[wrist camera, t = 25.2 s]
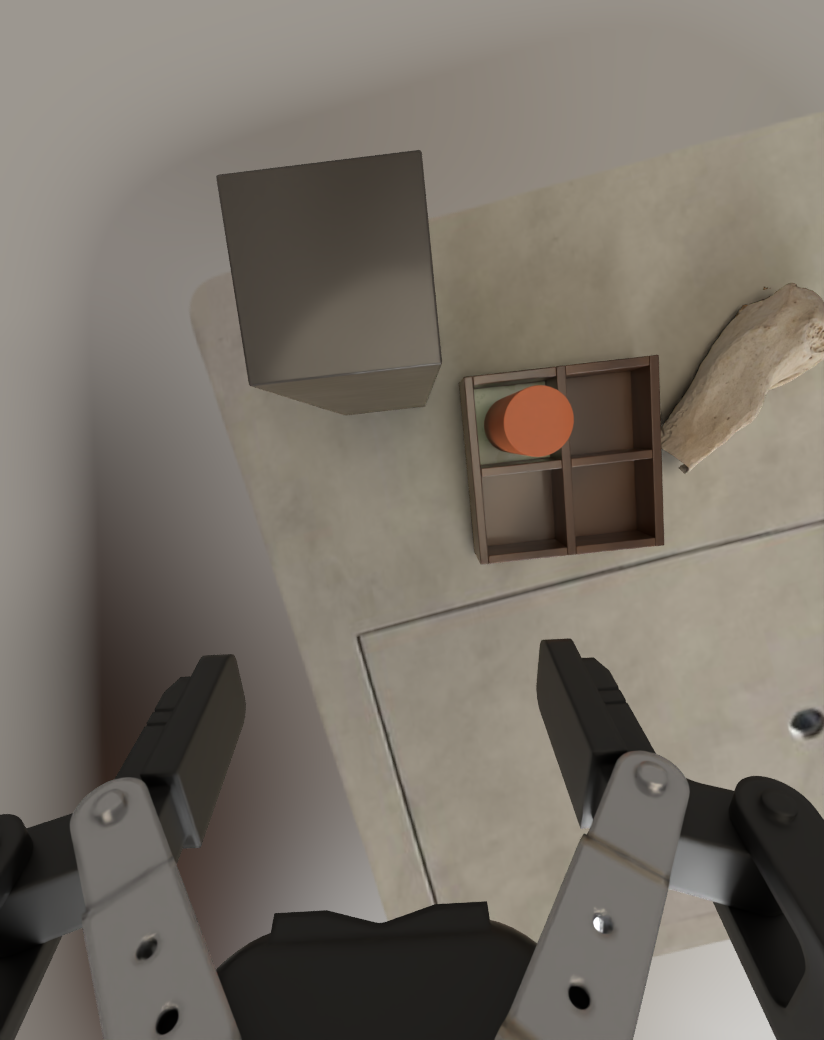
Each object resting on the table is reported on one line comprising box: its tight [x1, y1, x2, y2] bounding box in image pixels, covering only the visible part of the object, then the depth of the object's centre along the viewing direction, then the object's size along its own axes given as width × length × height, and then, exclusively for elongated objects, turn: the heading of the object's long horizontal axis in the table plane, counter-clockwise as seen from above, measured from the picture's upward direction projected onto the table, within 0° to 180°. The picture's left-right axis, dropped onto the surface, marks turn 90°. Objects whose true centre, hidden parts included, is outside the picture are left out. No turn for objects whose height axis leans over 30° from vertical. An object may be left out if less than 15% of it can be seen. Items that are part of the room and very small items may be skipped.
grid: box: [459, 355, 664, 564], centre depth 36 cm, size 13×13×4 cm
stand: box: [217, 150, 442, 415], centre depth 26 cm, size 6×6×22 cm
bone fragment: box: [661, 283, 824, 474], centre depth 35 cm, size 14×6×5 cm, turn 135°
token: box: [484, 385, 574, 457], centre depth 33 cm, size 4×4×8 cm
